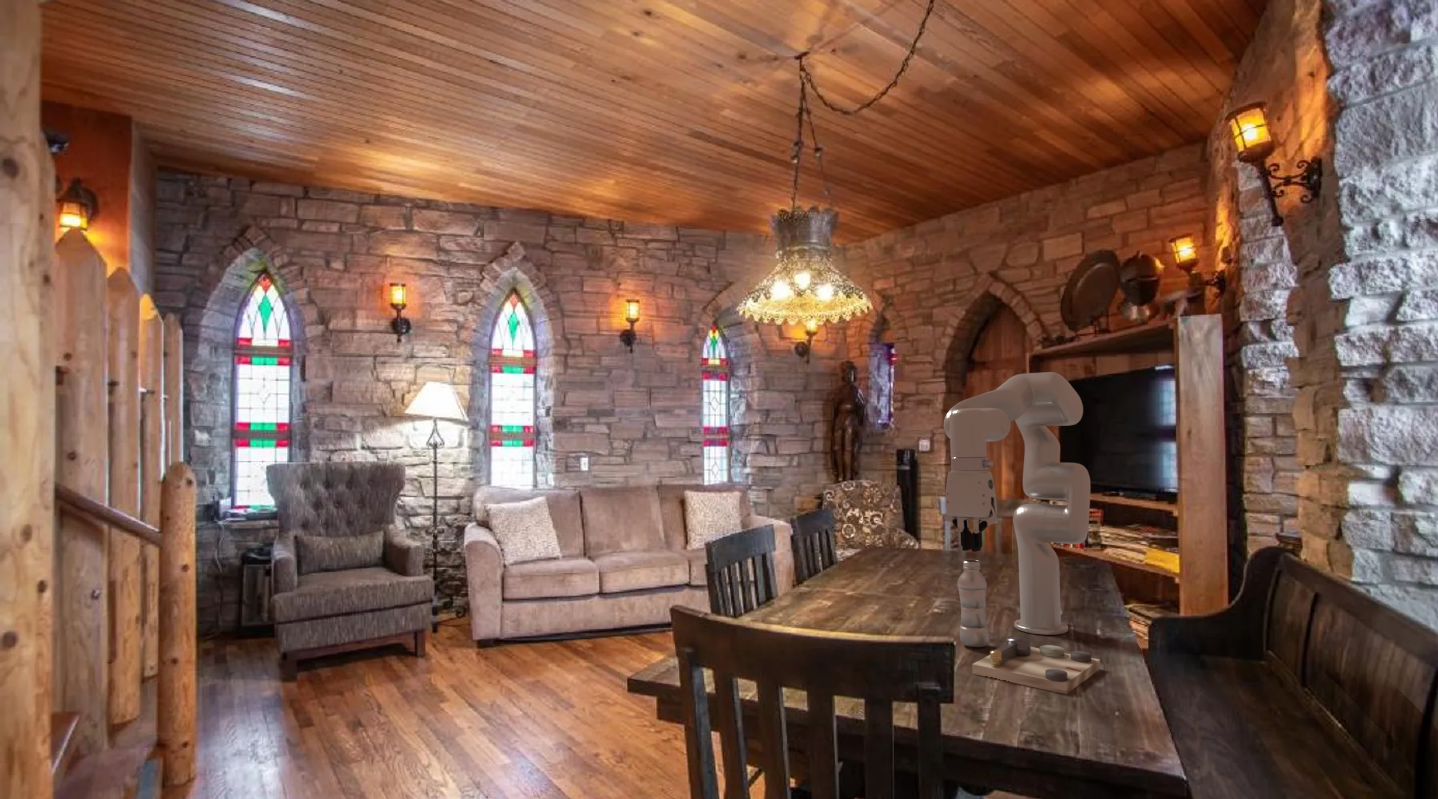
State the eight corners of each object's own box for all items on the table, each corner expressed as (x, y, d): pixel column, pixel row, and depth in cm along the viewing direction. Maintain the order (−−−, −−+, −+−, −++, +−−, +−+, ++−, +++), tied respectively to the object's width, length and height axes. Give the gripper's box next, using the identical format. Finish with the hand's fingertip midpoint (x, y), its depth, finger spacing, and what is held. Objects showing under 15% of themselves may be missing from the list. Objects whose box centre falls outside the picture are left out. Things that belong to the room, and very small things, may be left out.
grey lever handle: (1011, 647, 171) (1011, 634, 171) (1034, 652, 167) (1034, 638, 167) (982, 664, 160) (981, 649, 160) (1005, 668, 156) (1005, 654, 156)
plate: (1011, 652, 175) (1011, 637, 175) (1100, 669, 162) (1099, 653, 162) (972, 673, 161) (972, 657, 161) (1066, 694, 148) (1065, 676, 148)
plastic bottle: (991, 650, 176) (988, 563, 177) (960, 649, 178) (958, 563, 179) (987, 643, 183) (984, 558, 183) (958, 642, 184) (955, 558, 185)
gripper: (1011, 465, 164) (1014, 551, 163) (943, 464, 175) (946, 545, 174) (996, 467, 158) (999, 556, 158) (927, 465, 169) (930, 549, 169)
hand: (971, 550), depth 166 cm, fingers closed
